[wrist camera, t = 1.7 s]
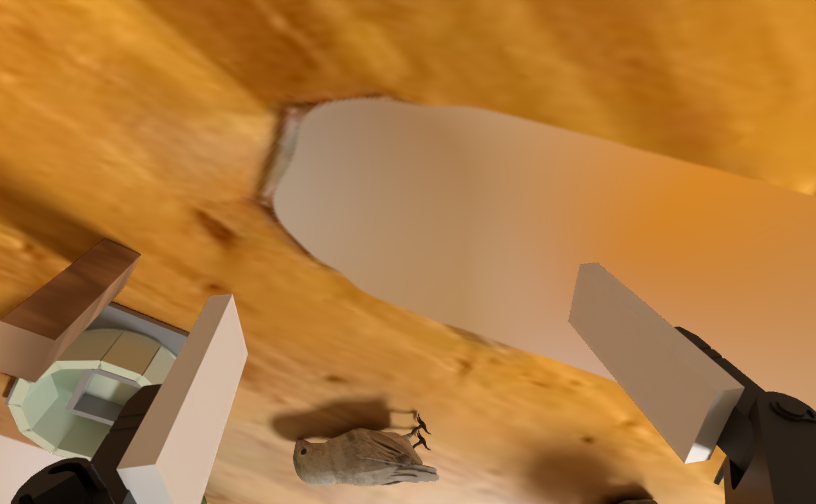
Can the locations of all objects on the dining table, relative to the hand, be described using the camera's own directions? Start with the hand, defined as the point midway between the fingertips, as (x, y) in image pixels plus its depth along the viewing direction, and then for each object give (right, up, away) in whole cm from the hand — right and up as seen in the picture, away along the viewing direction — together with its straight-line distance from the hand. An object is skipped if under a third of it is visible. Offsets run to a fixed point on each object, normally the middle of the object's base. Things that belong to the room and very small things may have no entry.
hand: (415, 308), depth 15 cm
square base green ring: (-29, -10, +26) cm, 40 cm away
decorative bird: (-6, -20, +35) cm, 40 cm away
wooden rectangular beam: (-26, +1, +20) cm, 33 cm away
